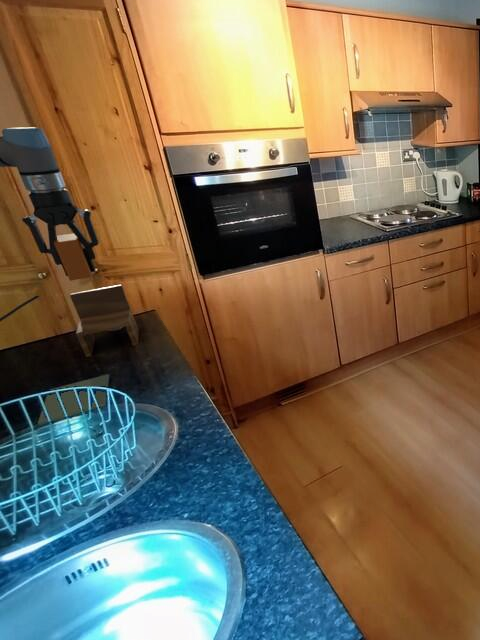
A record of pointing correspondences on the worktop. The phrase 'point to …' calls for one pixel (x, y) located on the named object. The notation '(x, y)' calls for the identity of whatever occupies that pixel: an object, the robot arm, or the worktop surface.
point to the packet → (72, 256)
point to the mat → (74, 400)
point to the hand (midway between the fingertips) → (81, 272)
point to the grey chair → (102, 314)
